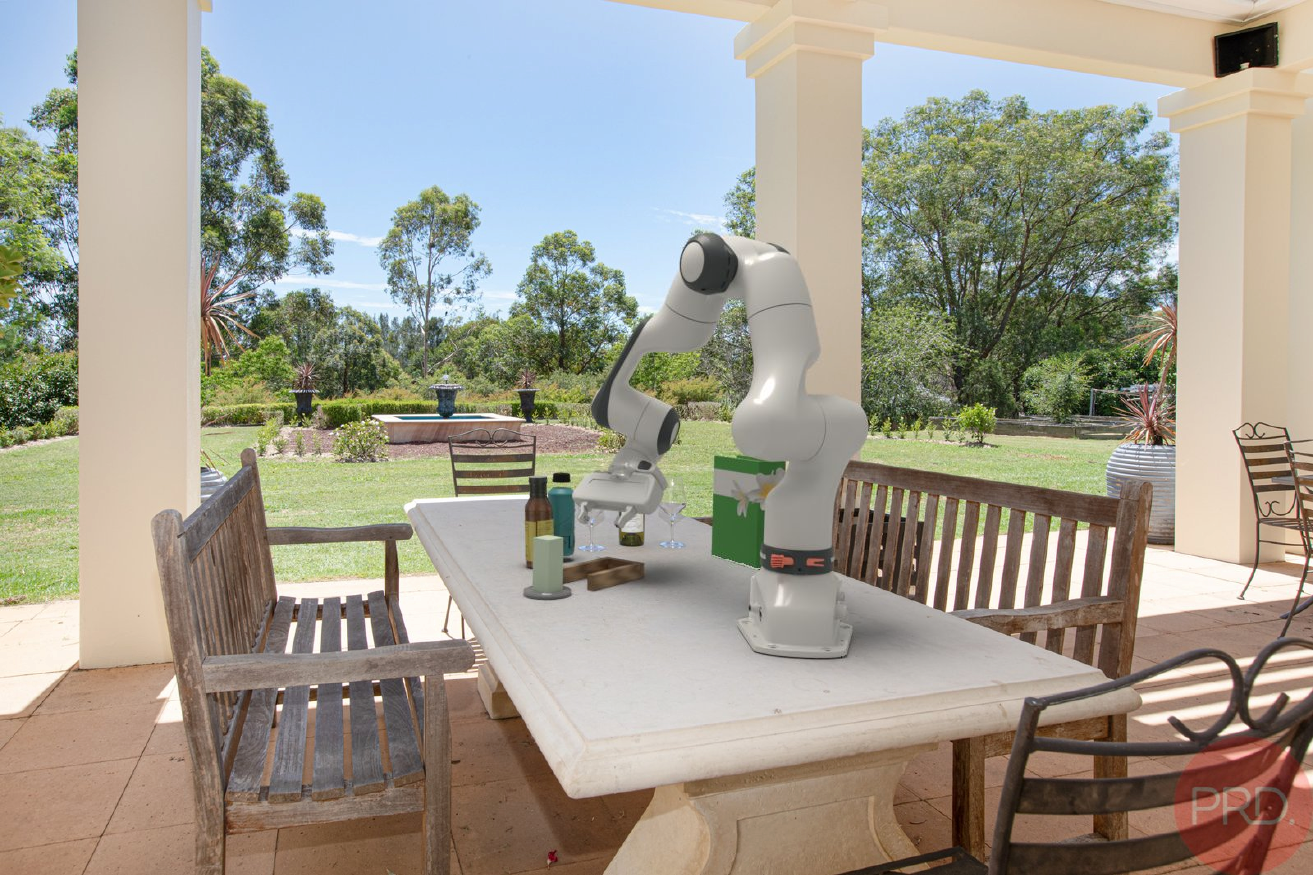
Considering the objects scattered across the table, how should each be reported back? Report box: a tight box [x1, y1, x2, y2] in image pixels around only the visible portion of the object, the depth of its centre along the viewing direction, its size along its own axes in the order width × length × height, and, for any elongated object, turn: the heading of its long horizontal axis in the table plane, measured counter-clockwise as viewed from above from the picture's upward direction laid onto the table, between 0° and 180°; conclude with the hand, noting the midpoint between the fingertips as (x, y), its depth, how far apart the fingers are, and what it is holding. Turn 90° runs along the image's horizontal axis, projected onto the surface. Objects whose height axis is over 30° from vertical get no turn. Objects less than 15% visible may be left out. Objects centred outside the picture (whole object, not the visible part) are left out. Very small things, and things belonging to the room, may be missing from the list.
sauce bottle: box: [524, 475, 554, 569], centre depth 185 cm, size 6×6×20 cm
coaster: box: [522, 585, 572, 601], centre depth 161 cm, size 9×9×1 cm
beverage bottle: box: [547, 471, 577, 557], centre depth 193 cm, size 6×7×20 cm
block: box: [532, 535, 564, 593], centre depth 161 cm, size 4×4×10 cm
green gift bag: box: [711, 454, 787, 568], centre depth 197 cm, size 18×7×24 cm, turn 30°
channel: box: [563, 556, 645, 592], centre depth 174 cm, size 16×10×3 cm, turn 144°
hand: (599, 524), depth 171 cm, fingers open, 8 cm apart
